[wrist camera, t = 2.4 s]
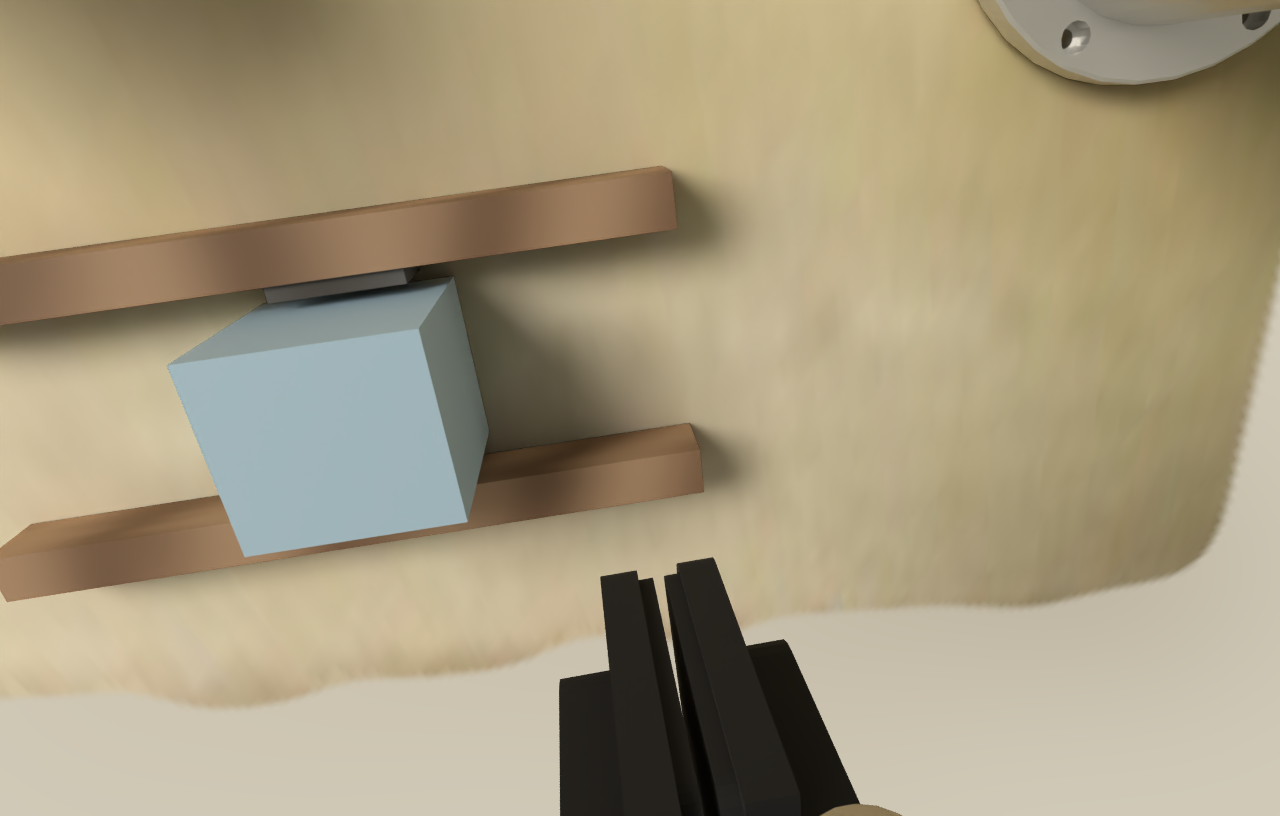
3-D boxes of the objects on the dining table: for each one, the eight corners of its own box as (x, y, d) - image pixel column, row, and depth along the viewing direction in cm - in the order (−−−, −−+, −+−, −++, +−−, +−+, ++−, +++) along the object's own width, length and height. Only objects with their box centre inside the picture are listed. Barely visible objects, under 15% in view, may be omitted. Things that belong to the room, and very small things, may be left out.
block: (453, 276, 23) (418, 329, 17) (489, 431, 25) (467, 522, 19) (263, 303, 23) (166, 365, 17) (316, 457, 25) (244, 557, 19)
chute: (661, 165, 22) (671, 171, 20) (693, 462, 26) (703, 492, 24) (-105, 272, 21) (-175, 288, 19) (51, 562, 25) (7, 602, 23)
